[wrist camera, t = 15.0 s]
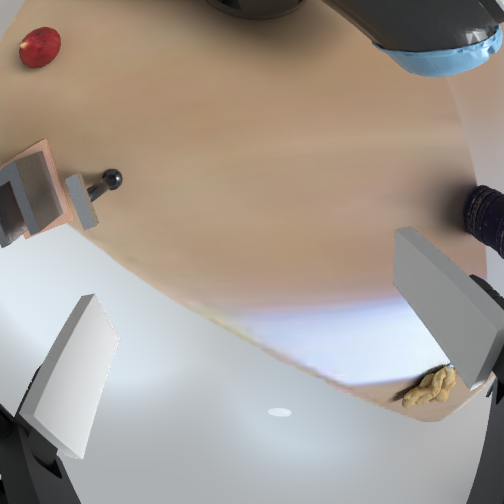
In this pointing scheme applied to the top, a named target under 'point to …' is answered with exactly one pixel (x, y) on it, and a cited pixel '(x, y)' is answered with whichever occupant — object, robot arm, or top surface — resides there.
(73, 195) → the post stand
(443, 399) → the ginger root
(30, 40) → the onion
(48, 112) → the top surface
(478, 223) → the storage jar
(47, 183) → the c link
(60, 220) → the tile
